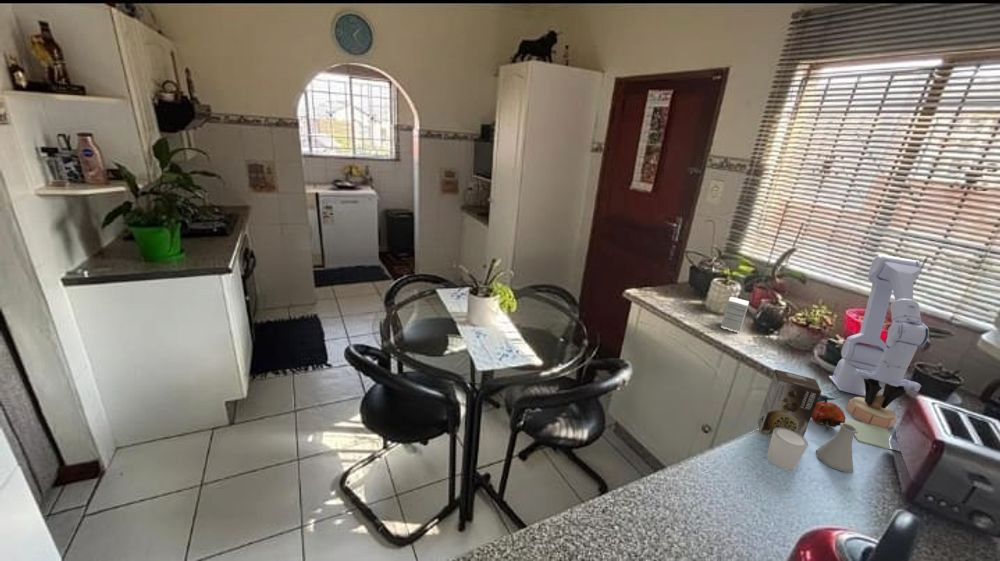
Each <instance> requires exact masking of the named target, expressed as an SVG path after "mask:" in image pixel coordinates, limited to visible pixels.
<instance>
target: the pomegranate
mask: <svg viewBox="0 0 1000 561" xmlns="http://www.w3.org/2000/svg"><path fill="white" fill-rule="evenodd" d="M823 400H824V401H819V402H818V401H817V404H816V406H815V409H814V411H813V414H812V417H811V419H812V421H813V423H816V424H819V425H825V428H826V433H825V434H828V429H829V427H832V428H835V427H838V426H840V423H845V418H846V415H845V413H844V411H843V409H841V407H839V406H838V404H836V403H833V402H829V401H828V398H823Z"/></svg>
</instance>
